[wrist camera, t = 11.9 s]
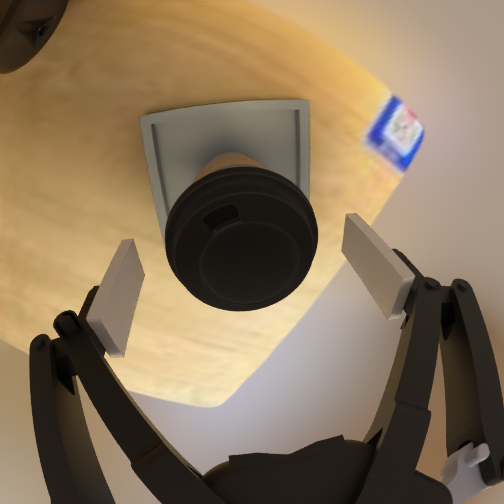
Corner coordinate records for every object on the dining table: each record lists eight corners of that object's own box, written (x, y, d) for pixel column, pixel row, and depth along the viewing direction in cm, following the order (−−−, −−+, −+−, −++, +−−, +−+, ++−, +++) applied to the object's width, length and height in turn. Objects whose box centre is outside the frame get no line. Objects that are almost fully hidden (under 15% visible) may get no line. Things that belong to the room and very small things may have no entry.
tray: (145, 114, 23) (139, 116, 21) (301, 99, 25) (309, 100, 23) (170, 248, 32) (168, 259, 30) (301, 233, 33) (307, 243, 31)
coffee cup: (220, 116, 24) (225, 138, 11) (293, 169, 28) (357, 240, 15) (168, 191, 27) (132, 279, 15) (239, 234, 31) (258, 337, 19)
